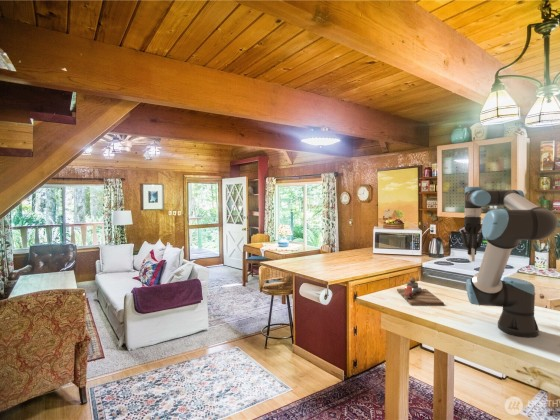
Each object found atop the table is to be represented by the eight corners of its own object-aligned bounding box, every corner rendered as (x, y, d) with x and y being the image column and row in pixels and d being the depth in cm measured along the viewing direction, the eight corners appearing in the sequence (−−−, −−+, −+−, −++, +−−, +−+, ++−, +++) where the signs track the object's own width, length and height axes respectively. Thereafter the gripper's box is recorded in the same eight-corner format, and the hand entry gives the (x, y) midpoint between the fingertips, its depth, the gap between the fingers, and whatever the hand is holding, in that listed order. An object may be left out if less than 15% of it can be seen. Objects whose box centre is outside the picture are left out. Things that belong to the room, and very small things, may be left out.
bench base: (443, 305, 183) (444, 288, 182) (410, 305, 184) (410, 288, 183) (425, 291, 209) (426, 276, 208) (396, 291, 210) (397, 276, 209)
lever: (412, 299, 187) (412, 288, 187) (402, 297, 191) (402, 286, 190) (422, 291, 203) (422, 280, 202) (413, 289, 206) (413, 279, 206)
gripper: (481, 215, 176) (480, 259, 177) (456, 215, 177) (455, 259, 178) (489, 216, 168) (488, 262, 170) (463, 216, 169) (462, 262, 170)
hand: (471, 260), depth 174 cm, fingers closed
